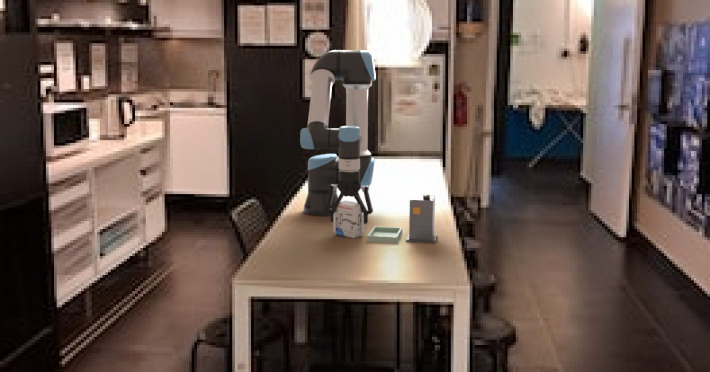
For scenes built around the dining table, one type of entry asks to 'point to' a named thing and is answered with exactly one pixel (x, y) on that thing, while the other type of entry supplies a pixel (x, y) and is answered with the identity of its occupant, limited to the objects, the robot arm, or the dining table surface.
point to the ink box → (348, 219)
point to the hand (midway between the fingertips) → (349, 231)
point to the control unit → (422, 219)
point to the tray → (384, 234)
